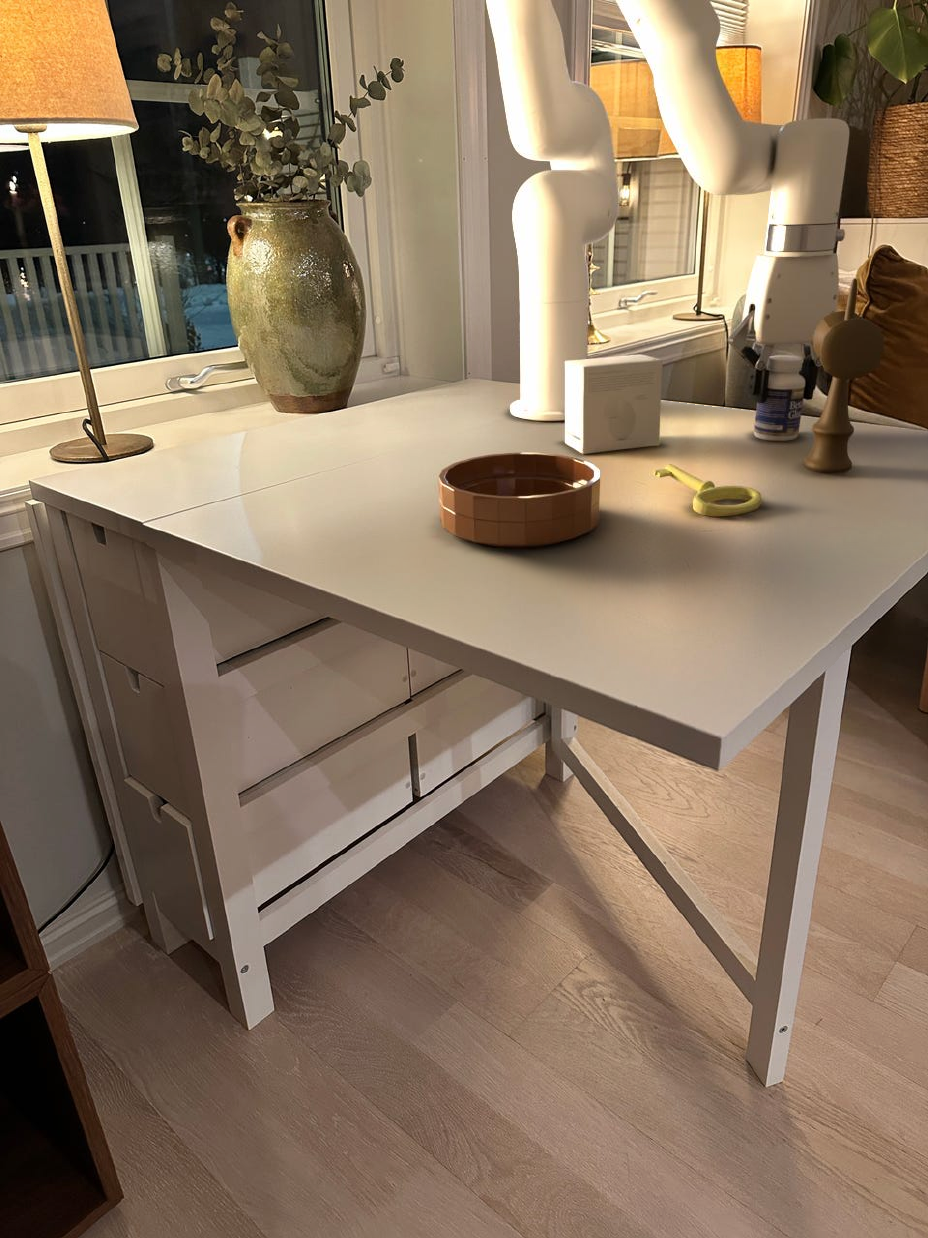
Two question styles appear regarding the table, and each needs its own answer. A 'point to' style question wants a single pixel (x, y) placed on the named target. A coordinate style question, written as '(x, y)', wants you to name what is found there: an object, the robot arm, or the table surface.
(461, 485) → the bowl
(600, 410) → the cosmetics box
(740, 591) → the table surface
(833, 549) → the table surface
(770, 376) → the pill bottle
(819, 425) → the kendama
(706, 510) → the key
